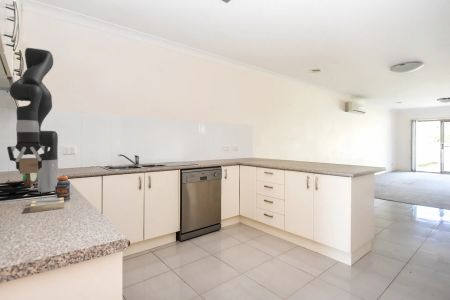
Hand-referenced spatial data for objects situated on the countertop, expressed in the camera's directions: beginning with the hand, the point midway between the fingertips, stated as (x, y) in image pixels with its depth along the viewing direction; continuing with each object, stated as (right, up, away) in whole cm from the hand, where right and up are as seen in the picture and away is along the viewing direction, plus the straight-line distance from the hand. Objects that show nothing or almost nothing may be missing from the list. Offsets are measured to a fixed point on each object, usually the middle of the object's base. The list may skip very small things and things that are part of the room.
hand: (29, 169), depth 104 cm
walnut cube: (0, -1, 0) cm, 1 cm away
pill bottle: (+9, -15, +8) cm, 20 cm away
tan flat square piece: (+11, -15, -4) cm, 19 cm away
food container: (-38, -14, +46) cm, 62 cm away
